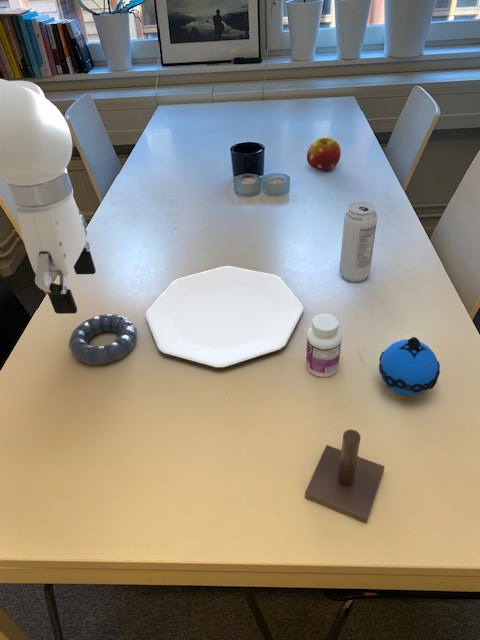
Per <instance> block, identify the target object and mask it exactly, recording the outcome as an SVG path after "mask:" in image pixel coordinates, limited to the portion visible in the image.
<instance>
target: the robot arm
mask: <svg viewBox="0 0 480 640" xmlns="http://www.w3.org/2000/svg"><path fill="white" fill-rule="evenodd" d="M72 155H73V139H72V134H71V130H70V128H69V125H68V123H67V121H66V118H65V117H64V116H63V114H62V113H61V111H60V110H59V109H58V108H57V106H55V105H54V104H53V103H52V102H51V101H50V100H49V99H47V98H46V97H45V94H44V91H43V90H42V89H41V88H40V86H39V85H38V84H36V83H34V82H32V81H29V80H6V79H3V78H0V179H4V180H5V182H6V186H7V187H8V190H9V193H10V195H11V197H12V200H13V203H14V206H15V207H16V208H17V210H16V215H17V220H18V221H17V222H18V225H19V230H20V235H21V237H22V241H23V244H24V247H25V250H26V251H25V252H26V254H27V257H28V259H29V262H30V264H31V267H32V271H33V272H34V275H35V277H34V283H35V285H36V286H37V287H38V288H39V289H40V291H41V292H42V293H44V294H45V295H47V296H48V299H49V300H50V303H51V305H52V308H53V311H54V313H55V314H58V315H59V314H60V315H64V314H65V315H66V314H67V315H68V314H77V312H78V307H77V304H76V301H75V298H74V295H73V293H72V290H71V288H68V275H69V274H70V273H71V271H72V270H74V273H75V274H76V275H95V274H96V272H97V270H96V266H95V263H94V259H93V257H92V253H91V251H90V248H91V247H90V243H89V241H88V240H87V235H88V233H87V232H88V231H87V229H86V228H85V219H84V215H82V214H81V213H80V211H79V208H78V205H77V203H76V200H75V197H74V189H73V186H72V182H71V180H70V176H69V173H68V169H67V167H68V165H69V163H70V161H71V158H72ZM52 267H55V268H57V270H51V269H52ZM53 277H59V283H56V282H53Z"/></svg>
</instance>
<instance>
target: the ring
mask: <svg viewBox="0 0 480 640" xmlns="http://www.w3.org/2000/svg"><path fill="white" fill-rule="evenodd" d="M103 332H116V333H118V337H117V338H116V339H115V340H114V341H112V342H110V343H107V344H105V345H102V346H101V345H100V346H92V345H90V344H88V343H89V340H90V339H92V338H93V337H94V336H95V335H98V334H100V333H103ZM137 336H138V329H137V327H136V326H135V324H134V323H133V322H132V321H131V320H130V319H129V318H128V317H125V316H122V315H119V314H116V313H109V314H99V315H96V316H93V317H90V318H88V319H86V320H84V321H83V322H81V323H80V324H79V325H78V326H77V327H76V328H75V329H73V330H72V332H71V334H70V338H69V341H68V349H69V350H70V353H71V354H72V356H73V357H74V359H75V360H77V361H79V362H82V363H84V364H88V365H91V366H95V365H107V364H111V363H113V362H115V361H117V360H120V359H122V358H124V357H125V356H126V355H127V354H128V353H129V352H130V351H131V350H132V349H134V347H135V345H136V341H137Z"/></svg>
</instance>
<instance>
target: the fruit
mask: <svg viewBox="0 0 480 640" xmlns="http://www.w3.org/2000/svg"><path fill="white" fill-rule="evenodd" d="M341 155H342V151H341V146H340V144H339V143H338V142H337V140H335V139H333V138H331V137H327V136H325V137H320V138H317V139H315V140H314V141H312V142H311V144H310V145H309V147H308V149H307V152H306V161H307V163H308V166H310V167H311V168H312V169H315V170H317V171H322V172H328V171H330V170H333V169H334V168H335V167H336V166H338V164H339V162H340V160H341Z"/></svg>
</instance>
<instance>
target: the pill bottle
mask: <svg viewBox="0 0 480 640" xmlns="http://www.w3.org/2000/svg"><path fill="white" fill-rule="evenodd" d="M339 325H340V323H339V319H338V318H337V317H336V316H334V315H333V314H330V313H320V314H317V315H315V316H314V317H313V318H312V320H311V327H310V328H309V329H308V331H307V334H306V352H305V353H306V354H305V366H306V369H307V370H308V371H309V372H310V373H311V374H312V375H314V376H316V377H320V378H326V377H330V376H333V375H334V374H335V373H336V372H338V370H339V368H340V357H341V349H342V348H341V347H342V338H343V335H342V332H341V330H340V328H339Z"/></svg>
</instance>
